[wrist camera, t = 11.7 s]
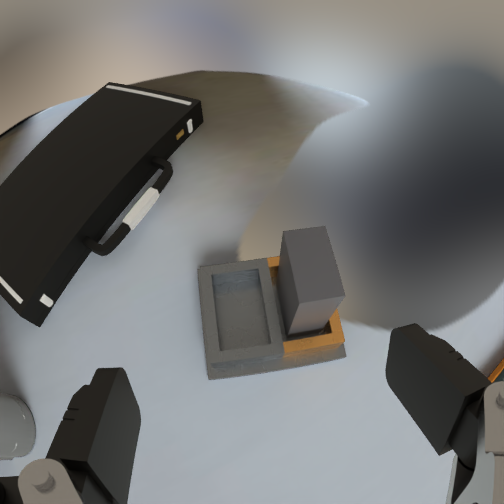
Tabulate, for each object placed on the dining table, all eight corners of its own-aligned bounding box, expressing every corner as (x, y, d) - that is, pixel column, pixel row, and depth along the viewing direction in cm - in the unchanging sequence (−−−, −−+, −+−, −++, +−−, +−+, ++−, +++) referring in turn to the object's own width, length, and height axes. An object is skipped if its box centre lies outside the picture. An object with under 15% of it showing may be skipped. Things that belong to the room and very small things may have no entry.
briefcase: (-26, 255, 43) (62, 348, 37) (-43, 240, 38) (40, 336, 32) (114, 100, 63) (226, 130, 56) (108, 81, 58) (225, 105, 51)
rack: (344, 357, 36) (353, 351, 33) (209, 380, 35) (204, 376, 32) (319, 255, 43) (324, 240, 39) (198, 271, 42) (193, 257, 38)
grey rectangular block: (319, 332, 37) (345, 295, 26) (286, 338, 36) (299, 303, 26) (307, 279, 40) (325, 226, 30) (275, 284, 40) (283, 231, 29)
